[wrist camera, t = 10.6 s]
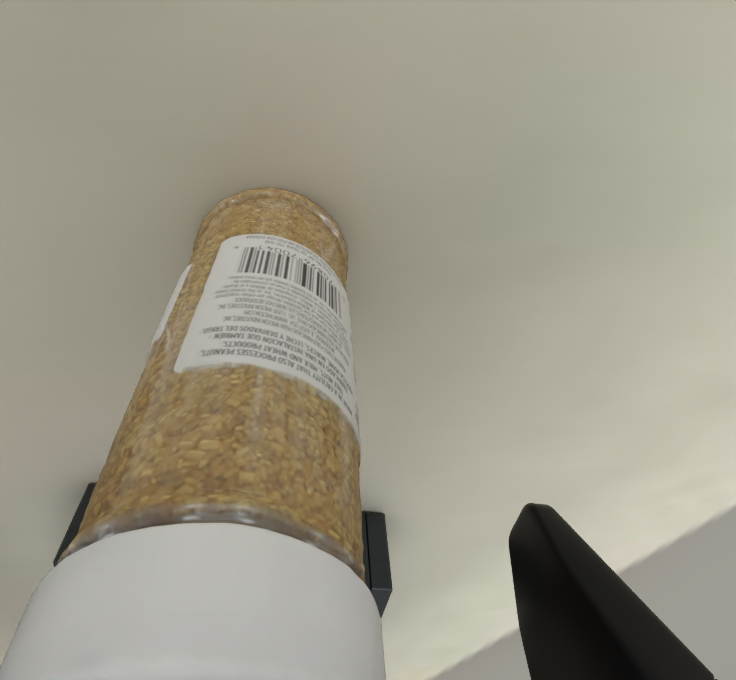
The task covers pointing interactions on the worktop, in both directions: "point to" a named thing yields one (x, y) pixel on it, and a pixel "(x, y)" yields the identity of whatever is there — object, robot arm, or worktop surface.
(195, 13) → the worktop surface
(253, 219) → the sprinkles bottle
